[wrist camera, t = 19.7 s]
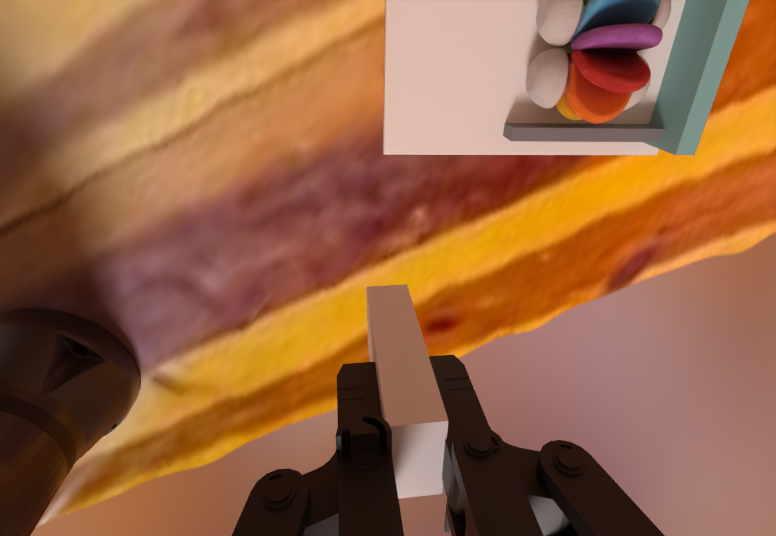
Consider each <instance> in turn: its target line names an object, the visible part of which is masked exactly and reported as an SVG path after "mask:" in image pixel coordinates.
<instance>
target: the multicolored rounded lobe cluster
mask: <svg viewBox="0 0 776 536" xmlns="http://www.w3.org/2000/svg"><path fill="white" fill-rule="evenodd" d="M670 13H671V0H541V1H540V4H539V6H538V10H537V16H536V24H537V28H538V31H539V33H540V35H541V37H542V38H543V39H544V40H545V41H546V42H547V43H548V44H551V45H552V46H553V47H552V48H551V49H548V50H546V51H544V52H542V53H541V54H539V55H538V56H537V57H536V58H535V59H534V60H533V62H532V63H531V65H530V66H529V69H528V71H527V75H526V90H527V93H528V95H529V97H530V98H531V100H532V101H533V102H534V103H535V104H537V105H538V106H541V107H543V108H552V107H554V106H556V108H557V110H558V111H559V112H560V113H561V114H562V115H563V116H564V117H566V118H568V119H571V120H582V119H584V120H586V121H588V122H591V123H594V124H599V123H604V122H607V121H609V120H611V119H613V118H615V117H616V116H618V115H619V114H620V113H621V112H622V111H624V110H626V109H629V108H631V107H632V106H634V105H636V104H637V103H638V102H639V101H640V100H641V99H642V98H643V97H644V95H645V94H646V92H647V90H648V88H649V86H650V81H651V71H650V67H649V65H648V63H647V62H646V60H645V59H644V58H643V57H642V56H640V55H639V54H637V51H640V50H645V49H649V48H653V47H656V46H657V45H658V44H659V43H660V42H661V40H662V37H663V32H662V30H663V28H664V27H665V25H666V23H667V21H668V19H669V16H670ZM569 41H570V42H572V43H571V47H572V50H573V51H572V53H567V52H566V50H565V49H564V48H563V46H565V44H567V43H568V42H569Z"/></svg>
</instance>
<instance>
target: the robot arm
mask: <svg viewBox="0 0 776 536" xmlns="http://www.w3.org/2000/svg"><path fill="white" fill-rule="evenodd" d="M367 323H368V349H369V357H370V362H365V363H352V364H343V366H342V368H341V370H340V371H339V373H338V375H337V401H338V402H337V403H338V429H337V433H336V446H337V449H336V452H335V454H334V455H333V457H332V458H331V459H330V460H329V461H328V462H327V463H326V464H325V465H323V466H322V467H320V468H318V469H316V470H314V471H311V472H309V473H306V474H304V475H302V474H301V473H299V472H298V471H295V470H292V469H278V470H275V471H273V472H270V473H267V474H266V475H265V476H263V477H262V478H261V479H260V480H259V481H257V483H256V484H255V486H254V487H253V489H252V490H251V493H250V495H249V497H248V500H247V502H246V504H245V506H244V509H243V511H242V513H241V516H240V518H239V520H238V523H237V525H236V527H235V529H234V532H233V534H232V536H404V533H403V526H402V520H401V514H400V506H399V500H398V499H399V498H407V497H417V496H426V495H435V494H442V487H443V484H444V488H445V492H446V495H447V505H446V514H445V532H449V528H450V531H451V534H452V536H664V535H663V533H662V532H661V531H660V530H659V529H658V528H657V527H656V526H655V525H654V524H653V523H652V521H651V520H650V519H649V518H648V517H647V516H646V515H645V514H644V513H643V512H642V511H641V510H640V508H639V507H638V506H637V505H636V504H635V503H634V502H633V501H632V500H631V499H630V497H629V496H628V495H627V494H626V493H625V492H624V491H623V490H622V489H621V488H620V487H619V485H618V484H617V483H615V481H614V480H613V479H612V478H611V477H610V476H609V475H608V474H607V473H606V471H605V470H604V469H603V468H602V467H601V466H600V465H599V464H598V463H597V462H596V460H595V459H594V458H593V457H592V456H591V455H590V454H589V453H588V452H586V451H585V450H584V449H583V448H582V447H580V446H577V445H575V444H573V443H571V442H567V441H562V440H557V441H550V442H549V443H547V444H545V445H544V446H543V447H542V449H541V451H540V452H539V451H534V450H528V449H523V448H519V447H515V446H512V445H509V444H507V443H505V442H504V441H502V439H501V438H500V436H499V435H498V434H496V433H495V432H494V431H492V430H491V428H490V427H489V425H488V423H487V420H486V417H485V415H484V412H483V410H482V407H481V405H480V403H479V400H478V398H477V395H476V393H475V390H473V385H472V383H471V381H470V379H469V375H468V373H467V371H466V368H465V366H464V364H463V363H462V362H460V360H459V359H458V358H456V357H455V356H454V355H443V356H430V357H429V356H428V352H427V349H426V346H425V343H424V339H423V336H422V333H421V330H420V326H419V323H418V320H417V317H416V313H415V310H414V307H413V304H412V300H411V297H410V294H409V290H408V287H407V285H390V286H373V287H367ZM139 390H140V376H139V372H138V369H137V366H136V364H135V362H134V360H133V358H132V357H131V355H130V354H129V352H128V351H127V350H126V349H125V347H124V346H123V345H122V344H121V343H120V342H119V341H118V340H116V339H115V338H114V337H113V336H112V335H110V334H109V333H108V332H106V331H104V330H103V329H101V328H100V327H98V326H96V325H94V324H92V323H90V322H88V321H86V320H84V319H81V318H78V317H75V316H73V315H69V314H66V313H61V312H56V311H50V310H39V309H30V310H19V311H13V312H9V313H6V314H3V315H0V536H30V535H31V533H32V532H33V530H34V529H35V527H36V525H37V524H38V522H39V520H40V519H41V517H42V516H43V514H44V512H45V511H46V509H47V507H48V506H49V504H50V502H51V501H52V499H53V498H54V496H55V494H56V493H57V491H58V489H59V488H60V486H61V485H62V483H63V481H64V480H65V478H66V476H67V475H68V473H69V472H70V470H71V469H72V467H73V465H74V464H75V462H76V461H77V460H78V459H80V458H81V457H82V456H83V455H84V454H85V453H86V452H87V451H89V450H90V449H91V448H92V447H93V446H94V445H95V444H96V442H98V441H99V440H100V439H101V438H102V437H103V436H105V435H107V434H108V433H110V432H111V431H112V430H114V429H115V428H116V427H117V426H118V425H119V424H120V423H121V422H122V421H123V420H124V419H125V417H126V416H127V414H128V413H129V411H130V409H131V407H132V406H133V404H134V402H135V401H136V399H137V396H138V394H139Z"/></svg>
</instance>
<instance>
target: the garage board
mask: <svg viewBox="0 0 776 536" xmlns="http://www.w3.org/2000/svg"><path fill="white" fill-rule="evenodd" d="M540 1H541V0H385V44H384V105H383V153H384V154H408V155H657V154H658V151H659V149H661V150H664V151H666V152H669V153H672V154H674V155H695V152H696V149H697V146H698V144H699V141H700V138H701V135H702V132H703V129H704V127H705V124H706V121H707V118H708V115H709V113H710V110H711V107H712V104H713V101H714V98H715V96H716V93H717V90H718V87H719V84H720V81H721V79H722V76H723V73H724V70H725V67H726V65H727V62H728V59H729V56H730V53H731V50H732V48H733V45H734V42H735V39H736V36H737V33H738V31H739V28H740V25H741V22H742V19H743V16H744V14H745V11H746V8H747V5H748V2H749V0H671V13H670V16H669V19H668V21H667V23H666V25H665V27H664V28H663V30H662V32H663V37H662V40H661V42H660V43H659V44H658V45H657V46H656V47H653V48H649V49H645V50H640V51H637V54H639V55H640V56H642V57H643V58H644V59H645V60H646V62H647V63H648V65H649V67H650V71H651V81H650V86H649V88H648V90H647V92H646V94H645V95H644V97H643V98H642V99H641V100H640V101H639V102H638V103H637V104H636V105H634V106H632V107H631V108H629V109H626V110H624V111H622V112H621V113H620V114H619V115H618V116H616V117H615V118H613V119H611V120H609V121H607V122H604V123H599V124H594V123H591V122H588V121H586V120H584V119H582V120H571V119H568V118H566V117H564V116H563V115H562V114H561V113H560V112H559V111H558V110H557V108H556V106H554V107H552V108H543V107H541V106H538V105H537V104H535V103H534V102H533V101H532V100H531V98H530V97H529V95H528V93H527V90H526V75H527V71H528V69H529V66H530V65H531V63H532V62H533V60H534V59H535V58H536V57H537V56H538V55H539V54H541V53H542V52H544V51H546V50H548V49H551V48H552V47H553V46H552V45H551V44H548V43H547V42H546V41H545V40H544V39H543V38H542V37H541V35H540V33H539V31H538V28H537V24H536V16H537V10H538V6H539V4H540ZM571 43H572V42H570V41H569V42H568V43H567V44H565V46H563V48H564V49H565V50H566V52H567V53H572V51H573V50H572V47H571Z"/></svg>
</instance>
